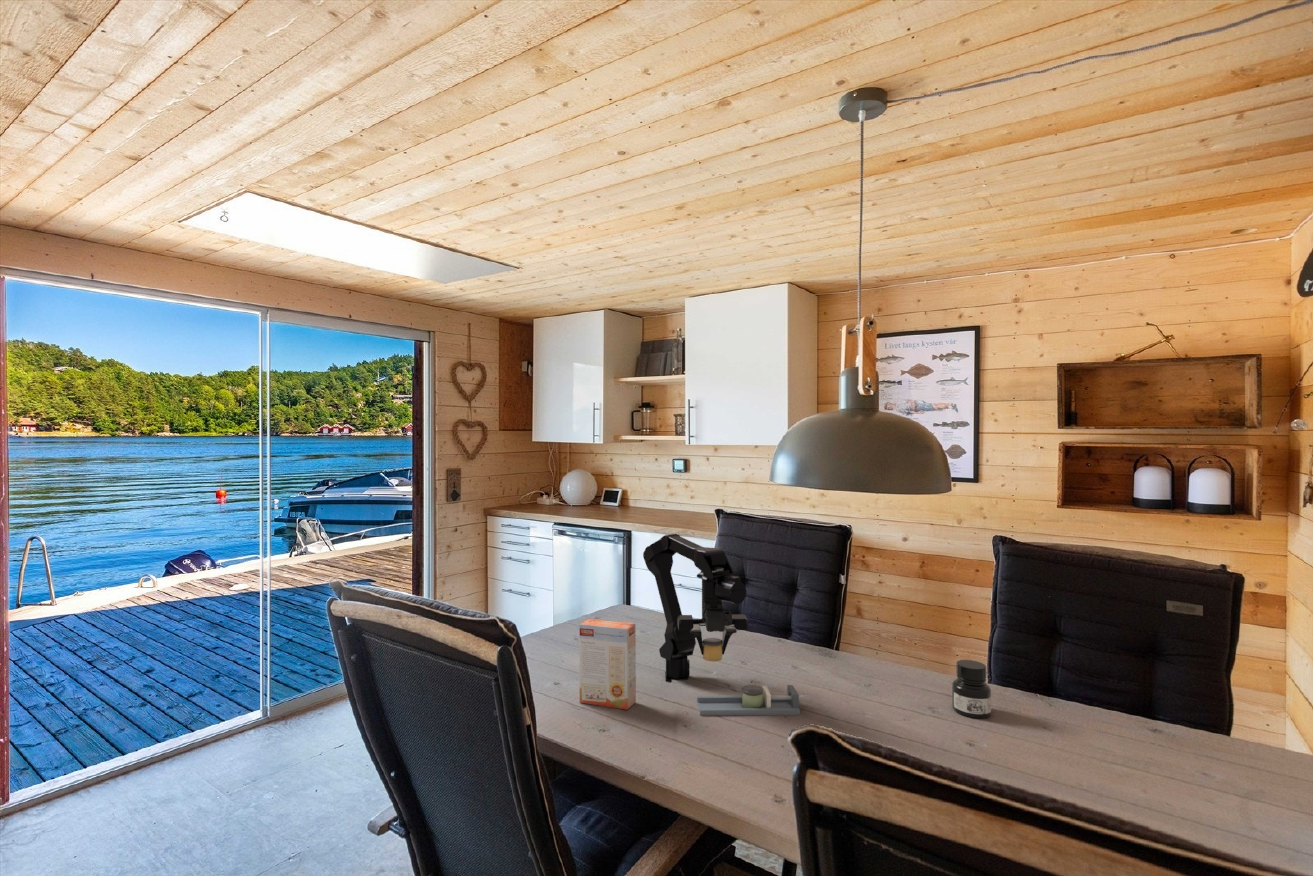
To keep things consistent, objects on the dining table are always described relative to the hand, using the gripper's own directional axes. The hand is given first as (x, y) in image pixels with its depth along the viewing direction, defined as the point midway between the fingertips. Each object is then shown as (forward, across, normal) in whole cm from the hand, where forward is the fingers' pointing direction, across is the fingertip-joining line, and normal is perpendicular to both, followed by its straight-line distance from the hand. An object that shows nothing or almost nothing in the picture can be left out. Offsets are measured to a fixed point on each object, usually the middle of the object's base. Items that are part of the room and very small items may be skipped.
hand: (712, 654), depth 167 cm
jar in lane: (+11, +9, -9) cm, 17 cm away
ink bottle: (+12, +65, -12) cm, 67 cm away
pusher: (+10, +18, -9) cm, 23 cm away
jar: (+1, 0, 0) cm, 1 cm away
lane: (+11, +8, -9) cm, 16 cm away
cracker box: (+11, -28, -4) cm, 31 cm away
